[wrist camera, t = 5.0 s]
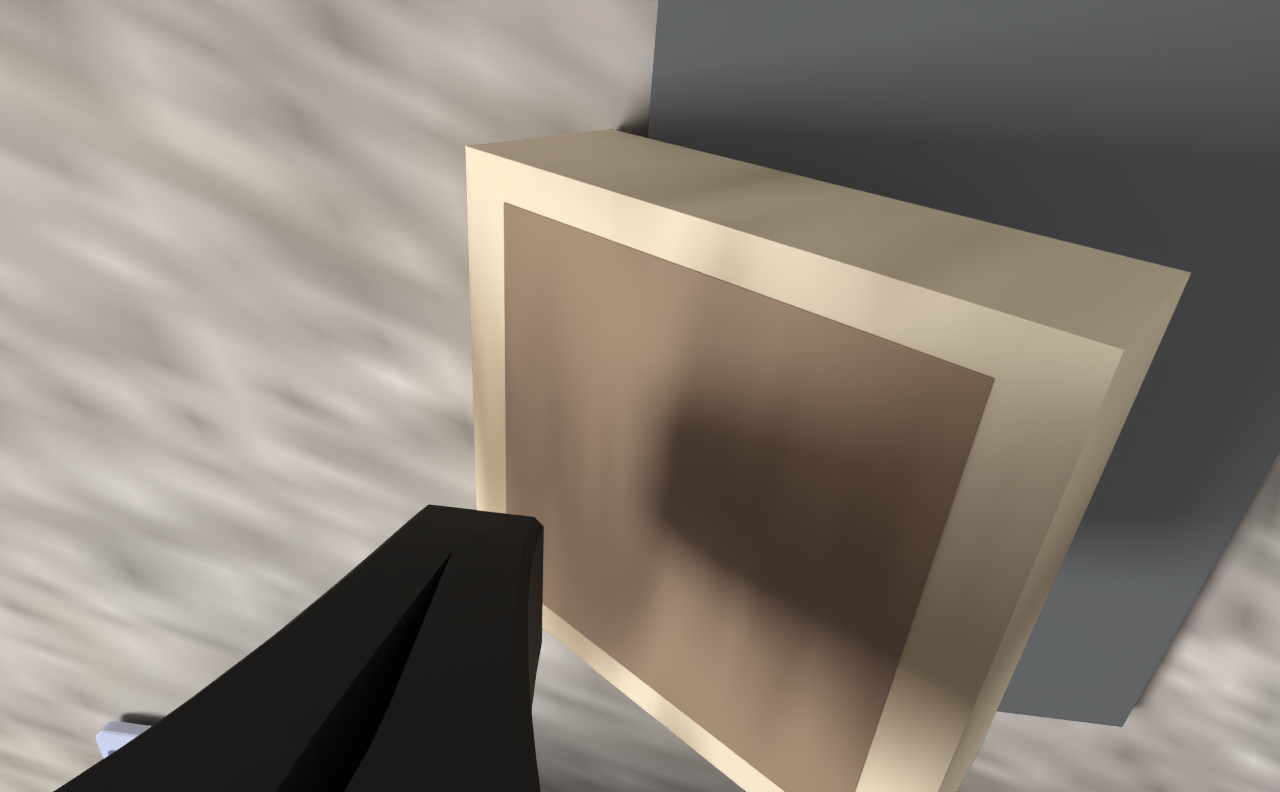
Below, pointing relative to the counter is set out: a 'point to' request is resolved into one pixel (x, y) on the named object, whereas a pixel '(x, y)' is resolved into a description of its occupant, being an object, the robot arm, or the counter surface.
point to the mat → (1060, 209)
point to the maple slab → (791, 443)
